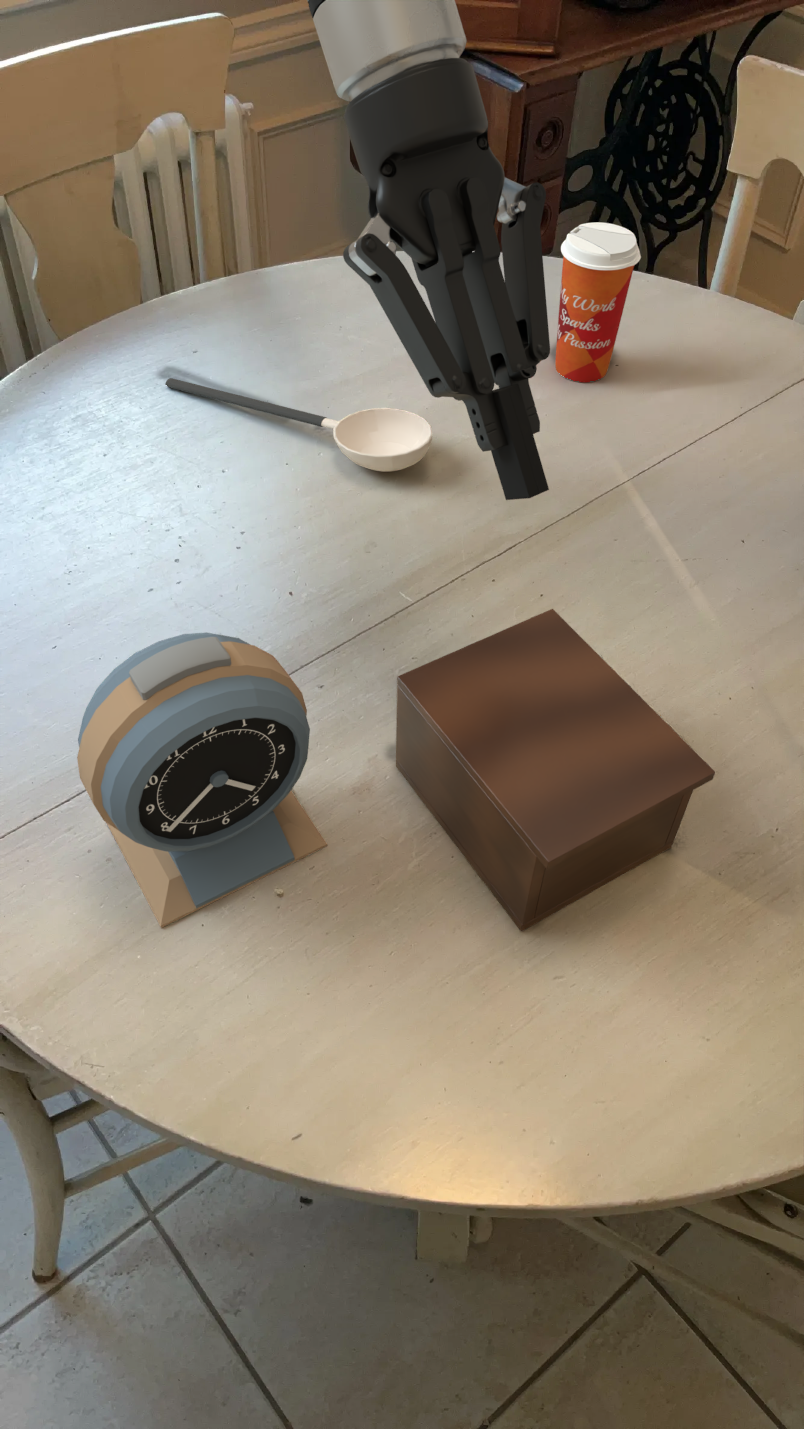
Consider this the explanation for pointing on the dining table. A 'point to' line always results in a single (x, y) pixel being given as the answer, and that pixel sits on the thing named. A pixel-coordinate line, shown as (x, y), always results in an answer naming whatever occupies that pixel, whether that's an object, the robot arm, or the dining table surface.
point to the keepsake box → (497, 843)
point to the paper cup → (592, 297)
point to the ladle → (349, 429)
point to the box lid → (553, 735)
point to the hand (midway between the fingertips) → (527, 494)
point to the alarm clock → (198, 768)
